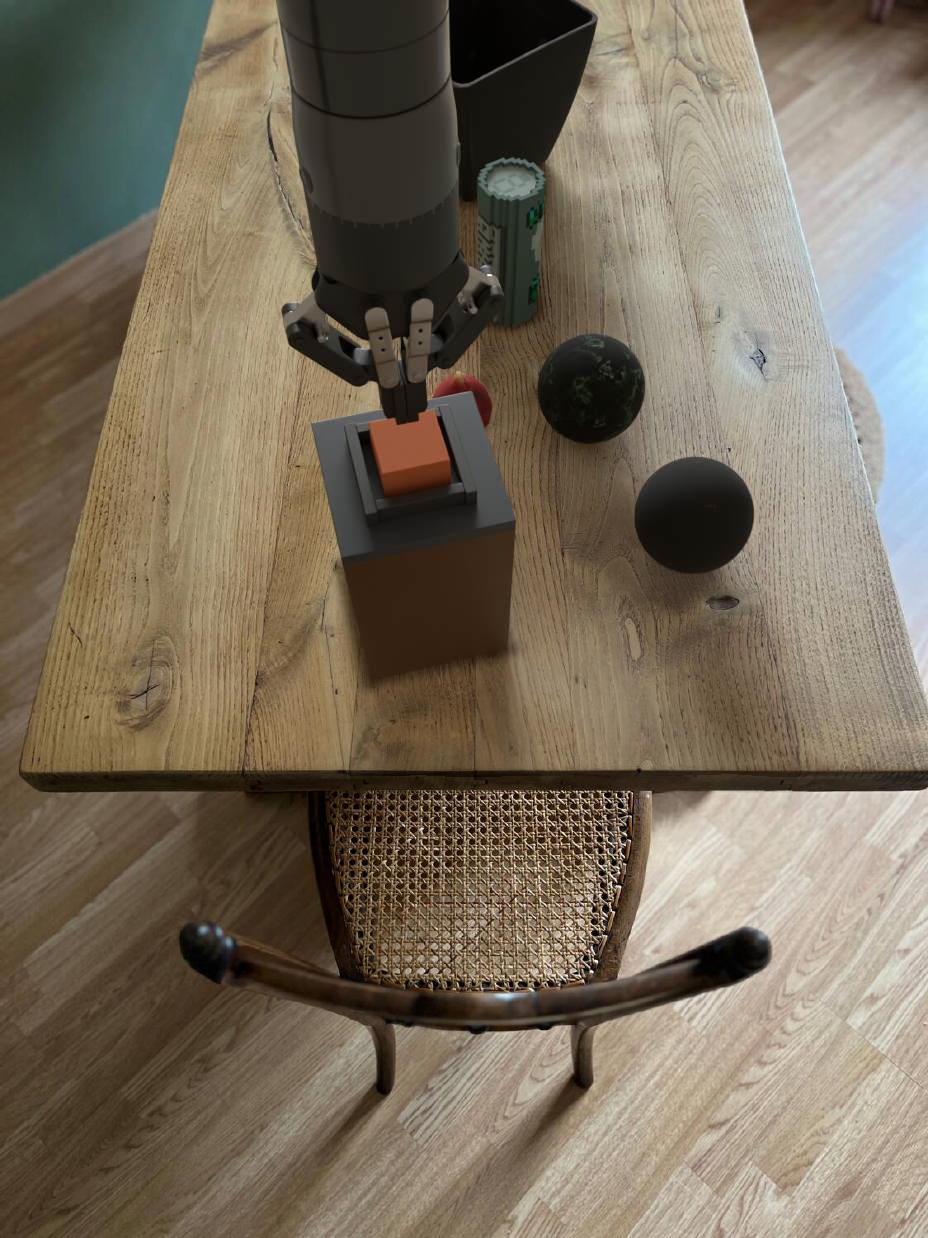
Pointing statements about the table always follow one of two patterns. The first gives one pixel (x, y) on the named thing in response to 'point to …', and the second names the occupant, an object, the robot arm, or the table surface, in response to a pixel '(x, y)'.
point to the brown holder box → (422, 544)
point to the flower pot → (514, 78)
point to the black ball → (694, 515)
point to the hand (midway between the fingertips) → (404, 413)
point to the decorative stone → (591, 388)
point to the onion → (467, 384)
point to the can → (511, 232)
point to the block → (410, 455)
